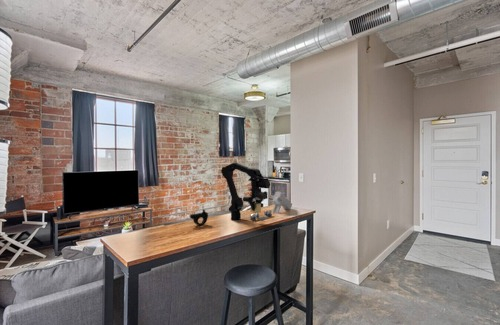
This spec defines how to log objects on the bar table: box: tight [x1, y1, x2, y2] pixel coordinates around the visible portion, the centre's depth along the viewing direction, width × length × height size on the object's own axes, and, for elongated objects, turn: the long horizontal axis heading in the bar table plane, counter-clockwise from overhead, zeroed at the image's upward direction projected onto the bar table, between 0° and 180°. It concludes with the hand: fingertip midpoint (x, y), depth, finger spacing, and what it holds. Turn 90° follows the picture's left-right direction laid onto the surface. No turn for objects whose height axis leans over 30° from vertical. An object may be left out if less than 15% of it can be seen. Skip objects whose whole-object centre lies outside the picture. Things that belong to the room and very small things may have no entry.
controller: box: [189, 209, 209, 226], centre depth 164 cm, size 4×12×10 cm, turn 122°
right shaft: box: [263, 209, 273, 218], centre depth 186 cm, size 6×4×5 cm, turn 145°
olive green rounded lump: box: [250, 202, 262, 214], centre depth 169 cm, size 6×4×6 cm, turn 44°
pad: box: [256, 215, 270, 221], centre depth 180 cm, size 8×6×1 cm
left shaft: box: [249, 213, 260, 222], centre depth 176 cm, size 6×4×5 cm, turn 121°
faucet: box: [272, 191, 293, 214], centre depth 203 cm, size 6×16×20 cm
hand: (255, 210), depth 169 cm, fingers closed on olive green rounded lump, 4 cm apart
